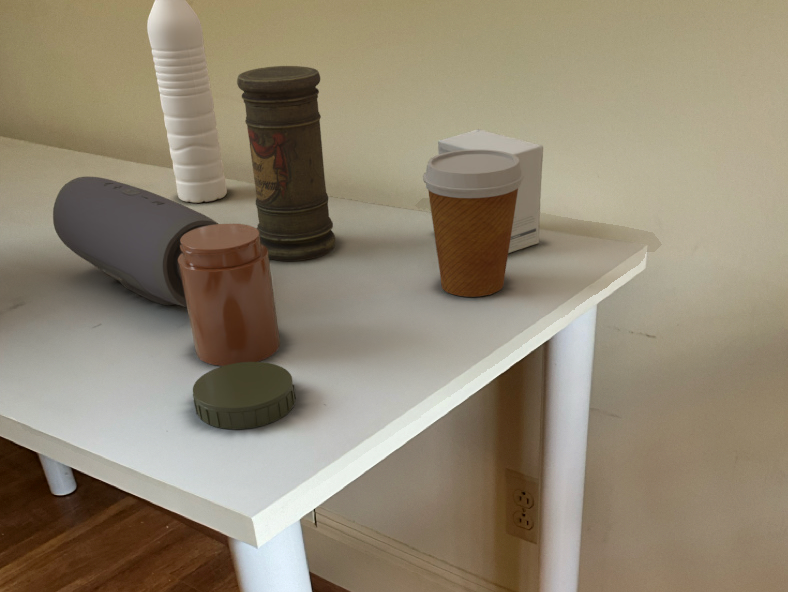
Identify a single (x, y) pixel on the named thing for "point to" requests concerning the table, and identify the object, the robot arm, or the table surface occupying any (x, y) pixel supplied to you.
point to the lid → (244, 395)
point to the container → (287, 161)
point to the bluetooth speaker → (127, 234)
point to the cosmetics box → (530, 188)
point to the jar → (229, 294)
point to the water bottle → (186, 100)
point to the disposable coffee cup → (473, 217)
